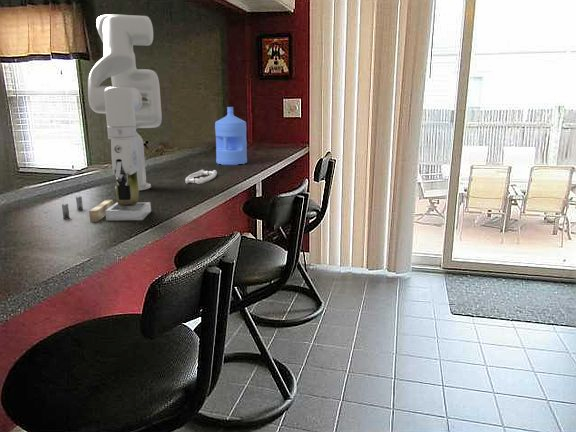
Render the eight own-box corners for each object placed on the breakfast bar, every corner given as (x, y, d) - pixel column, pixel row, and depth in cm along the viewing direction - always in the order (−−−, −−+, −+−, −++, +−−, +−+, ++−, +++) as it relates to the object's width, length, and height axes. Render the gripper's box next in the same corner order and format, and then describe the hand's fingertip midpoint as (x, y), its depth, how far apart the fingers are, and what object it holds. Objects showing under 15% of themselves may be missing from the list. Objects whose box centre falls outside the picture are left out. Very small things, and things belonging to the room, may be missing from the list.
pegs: (78, 209, 142) (77, 196, 141) (83, 209, 142) (82, 196, 141) (62, 218, 131) (60, 205, 130) (68, 218, 131) (66, 205, 130)
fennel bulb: (141, 204, 136) (137, 163, 133) (134, 208, 131) (131, 165, 128) (121, 203, 136) (118, 163, 133) (114, 207, 132) (110, 165, 129)
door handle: (179, 185, 183) (199, 174, 206) (204, 186, 181) (221, 175, 205) (179, 178, 182) (199, 168, 206) (203, 179, 181) (221, 169, 205)
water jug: (224, 160, 246) (222, 106, 239) (251, 162, 242) (250, 106, 235) (210, 164, 232) (208, 107, 225) (239, 166, 227) (238, 107, 220)
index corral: (117, 211, 139) (116, 202, 138) (151, 211, 140) (150, 202, 139) (106, 220, 129) (105, 210, 129) (142, 220, 130) (141, 210, 129)
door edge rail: (106, 209, 142) (105, 199, 141) (113, 209, 142) (112, 199, 141) (90, 221, 128) (88, 211, 128) (97, 221, 128) (96, 211, 128)
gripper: (127, 135, 121) (132, 204, 125) (143, 130, 137) (148, 191, 141) (97, 135, 120) (104, 204, 125) (117, 130, 137) (123, 191, 141)
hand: (127, 196), depth 133 cm, fingers closed on fennel bulb, 4 cm apart
